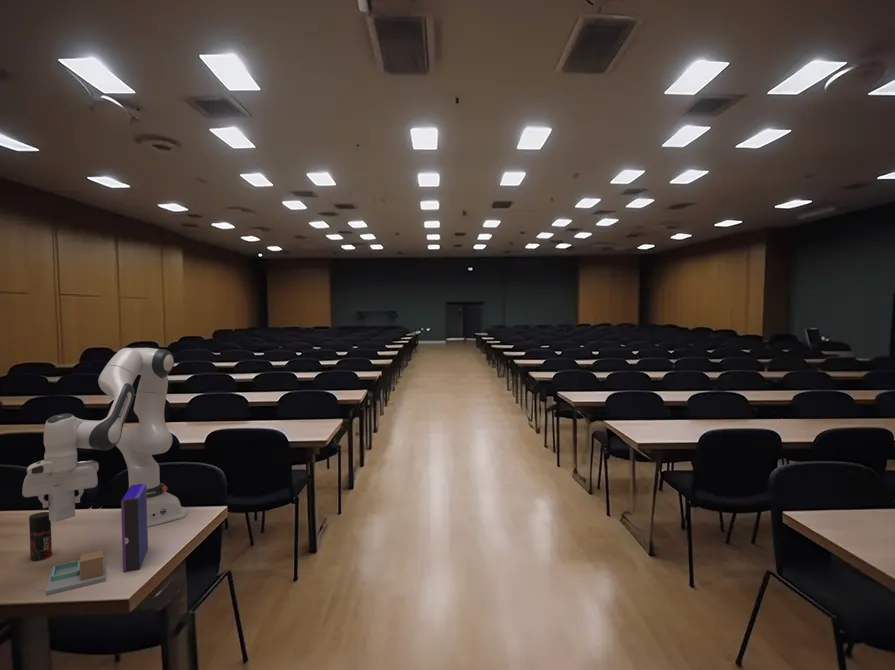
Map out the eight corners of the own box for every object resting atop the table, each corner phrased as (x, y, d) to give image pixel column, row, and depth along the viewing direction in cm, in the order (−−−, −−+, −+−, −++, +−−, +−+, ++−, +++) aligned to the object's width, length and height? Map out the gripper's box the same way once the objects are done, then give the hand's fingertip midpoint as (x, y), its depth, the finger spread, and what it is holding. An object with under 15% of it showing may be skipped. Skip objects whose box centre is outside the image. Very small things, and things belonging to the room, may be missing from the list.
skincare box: (67, 514, 178) (67, 479, 178) (76, 516, 176) (75, 481, 176) (47, 521, 173) (47, 484, 172) (56, 523, 171) (55, 486, 171)
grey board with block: (104, 559, 181) (104, 539, 181) (105, 581, 166) (104, 558, 166) (50, 571, 173) (49, 550, 173) (46, 595, 158) (45, 571, 158)
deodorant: (39, 553, 187) (38, 511, 186) (56, 553, 186) (54, 511, 186) (26, 560, 181) (24, 518, 180) (42, 561, 180) (41, 518, 180)
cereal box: (132, 550, 188) (131, 484, 187) (148, 548, 190) (146, 483, 189) (123, 572, 172) (121, 500, 171) (139, 569, 174) (137, 498, 173)
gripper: (98, 457, 182) (99, 496, 183) (23, 466, 171) (24, 508, 171) (98, 461, 177) (99, 501, 177) (20, 470, 166) (21, 513, 166)
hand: (61, 504), depth 174 cm, fingers closed on skincare box, 7 cm apart
